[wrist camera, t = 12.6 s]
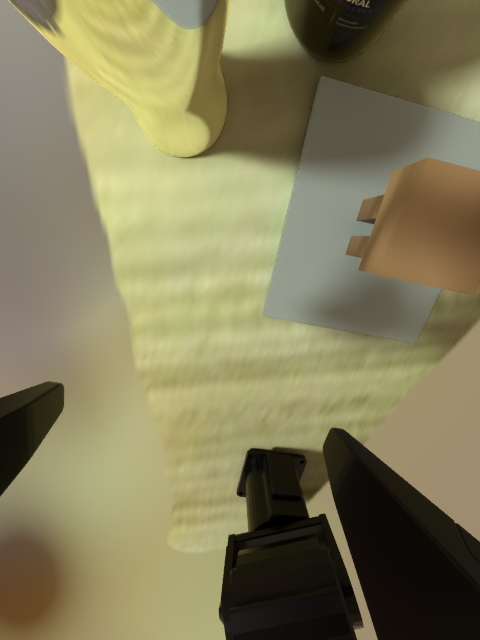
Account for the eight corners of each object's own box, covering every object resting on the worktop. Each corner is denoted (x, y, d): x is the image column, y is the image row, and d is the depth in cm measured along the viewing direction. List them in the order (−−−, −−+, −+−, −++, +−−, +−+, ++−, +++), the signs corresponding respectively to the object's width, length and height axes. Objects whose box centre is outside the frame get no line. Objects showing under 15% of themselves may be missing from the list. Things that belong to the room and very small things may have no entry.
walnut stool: (396, 276, 19) (474, 295, 13) (332, 263, 19) (382, 276, 13) (426, 202, 18) (531, 184, 12) (356, 185, 17) (428, 157, 11)
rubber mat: (410, 340, 22) (415, 343, 21) (262, 314, 21) (263, 316, 20) (506, 135, 17) (515, 132, 16) (318, 81, 15) (321, 75, 15)
